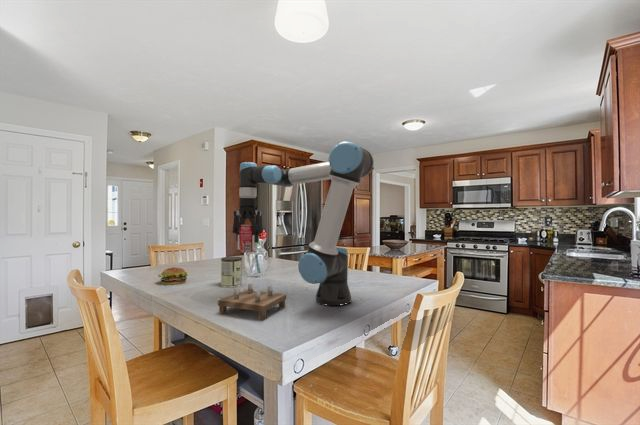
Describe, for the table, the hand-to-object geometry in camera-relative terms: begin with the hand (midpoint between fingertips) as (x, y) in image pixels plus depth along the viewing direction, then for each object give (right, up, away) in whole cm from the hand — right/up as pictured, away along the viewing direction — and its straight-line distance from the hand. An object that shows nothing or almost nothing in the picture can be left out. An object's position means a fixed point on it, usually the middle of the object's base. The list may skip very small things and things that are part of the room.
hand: (247, 249), depth 137 cm
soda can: (0, -1, 0) cm, 1 cm away
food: (-46, -21, +27) cm, 57 cm away
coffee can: (-14, -21, +22) cm, 34 cm away
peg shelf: (+7, -21, -20) cm, 29 cm away
